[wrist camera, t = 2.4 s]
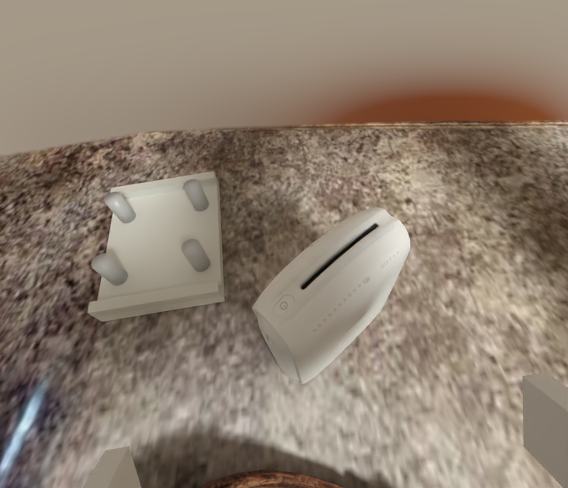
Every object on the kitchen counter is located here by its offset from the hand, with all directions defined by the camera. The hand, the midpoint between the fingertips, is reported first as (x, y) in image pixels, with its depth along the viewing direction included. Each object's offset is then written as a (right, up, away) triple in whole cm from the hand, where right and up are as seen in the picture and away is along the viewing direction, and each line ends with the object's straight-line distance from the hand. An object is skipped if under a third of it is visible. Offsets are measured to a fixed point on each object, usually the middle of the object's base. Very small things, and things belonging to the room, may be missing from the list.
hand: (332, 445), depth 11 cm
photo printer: (+2, 0, +16) cm, 16 cm away
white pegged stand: (-13, +6, +22) cm, 26 cm away
